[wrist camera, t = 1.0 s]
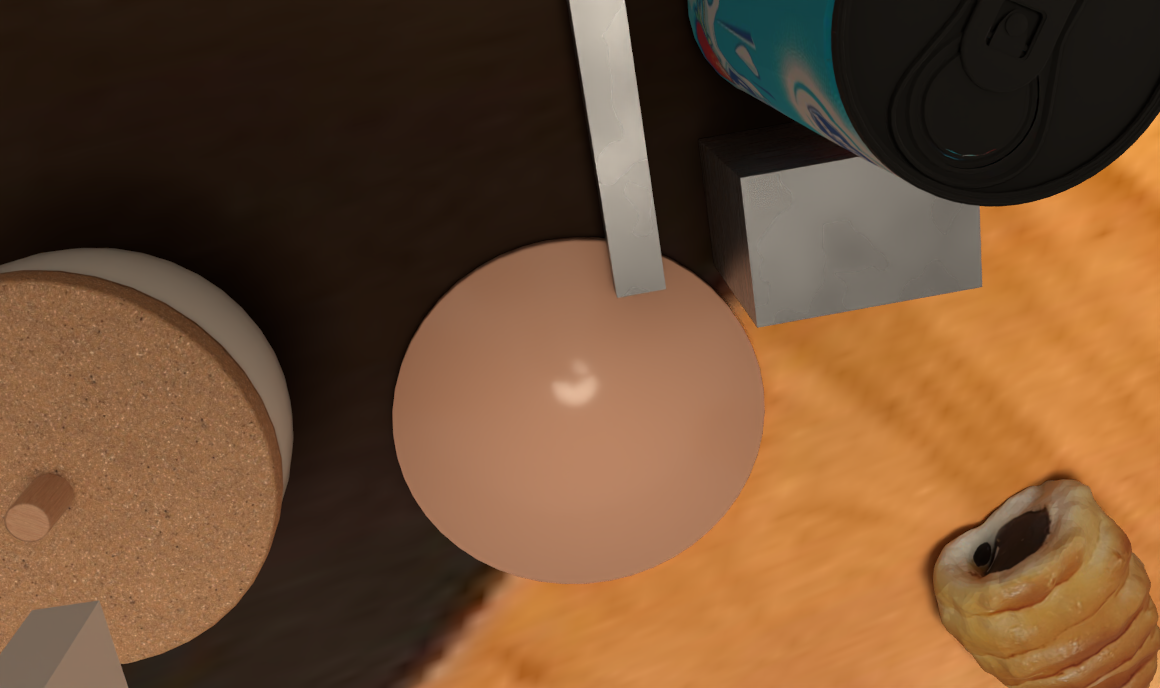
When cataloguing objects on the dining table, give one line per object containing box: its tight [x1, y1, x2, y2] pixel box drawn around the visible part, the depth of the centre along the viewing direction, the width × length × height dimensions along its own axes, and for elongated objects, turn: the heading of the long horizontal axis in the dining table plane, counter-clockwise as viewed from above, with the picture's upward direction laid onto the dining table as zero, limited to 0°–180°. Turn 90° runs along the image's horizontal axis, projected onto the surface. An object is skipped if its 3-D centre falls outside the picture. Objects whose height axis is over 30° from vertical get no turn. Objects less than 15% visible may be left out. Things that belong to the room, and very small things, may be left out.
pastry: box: [933, 479, 1160, 688], centre depth 37 cm, size 9×7×4 cm
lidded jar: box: [0, 248, 293, 664], centre depth 29 cm, size 11×11×9 cm
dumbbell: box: [566, 0, 982, 328], centre depth 28 cm, size 16×9×6 cm, turn 10°
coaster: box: [393, 237, 765, 584], centre depth 35 cm, size 12×12×1 cm
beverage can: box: [688, 0, 1160, 206], centre depth 24 cm, size 6×6×15 cm
